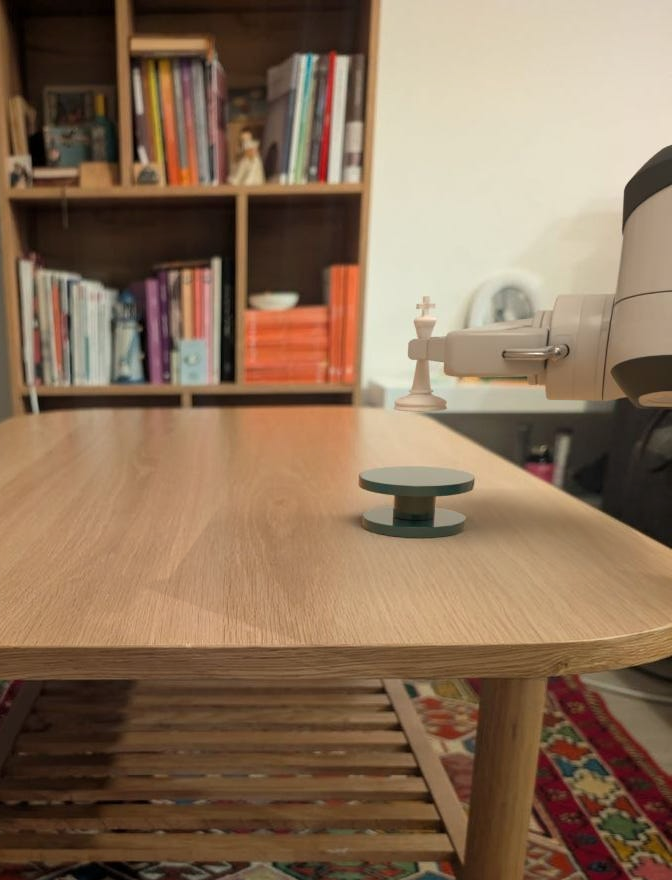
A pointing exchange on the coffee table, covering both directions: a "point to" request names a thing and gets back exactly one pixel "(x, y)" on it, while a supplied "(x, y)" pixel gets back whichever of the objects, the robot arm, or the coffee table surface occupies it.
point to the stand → (415, 500)
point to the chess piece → (422, 370)
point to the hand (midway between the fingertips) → (414, 348)
